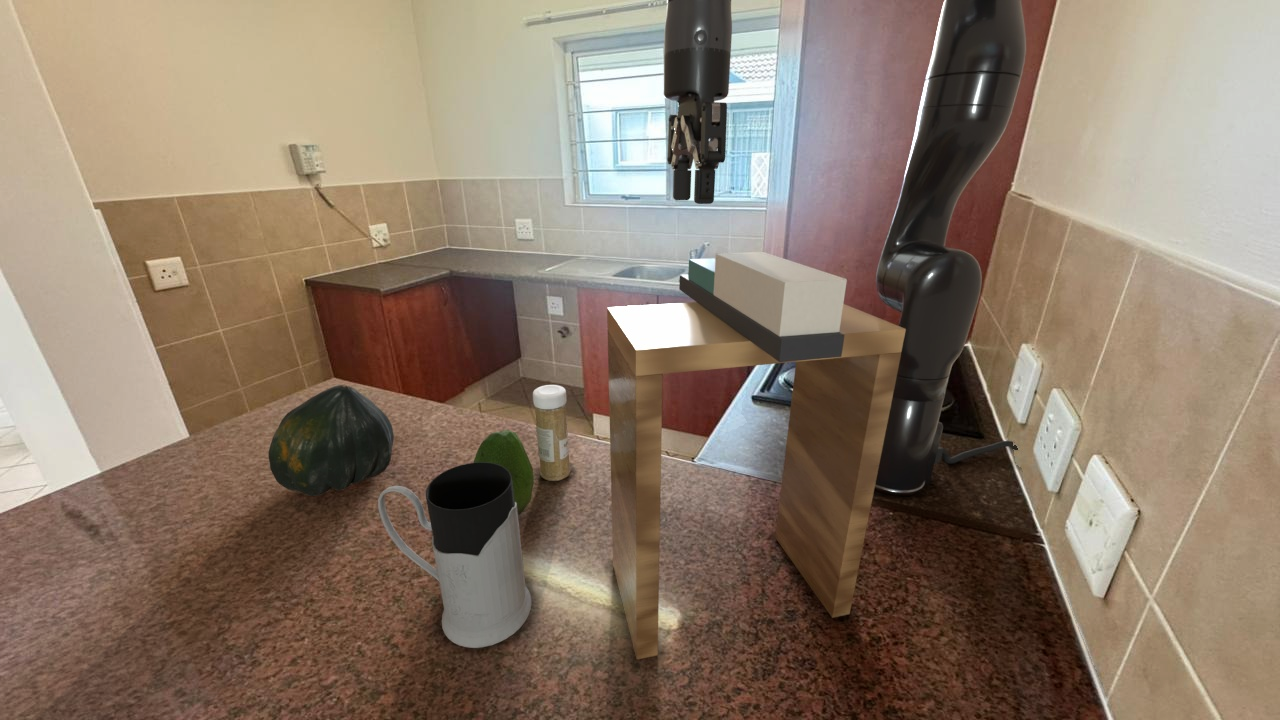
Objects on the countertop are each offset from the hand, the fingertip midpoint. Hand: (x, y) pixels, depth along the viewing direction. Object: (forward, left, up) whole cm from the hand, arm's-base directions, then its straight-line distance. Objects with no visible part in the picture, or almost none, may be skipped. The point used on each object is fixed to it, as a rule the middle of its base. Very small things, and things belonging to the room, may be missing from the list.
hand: (691, 201), depth 62 cm
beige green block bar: (+3, +24, -8) cm, 25 cm away
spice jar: (+19, -2, -38) cm, 43 cm away
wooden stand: (+3, +24, -38) cm, 45 cm away
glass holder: (+30, +20, -38) cm, 53 cm away
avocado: (+26, +6, -38) cm, 47 cm away
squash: (+49, -8, -38) cm, 63 cm away
